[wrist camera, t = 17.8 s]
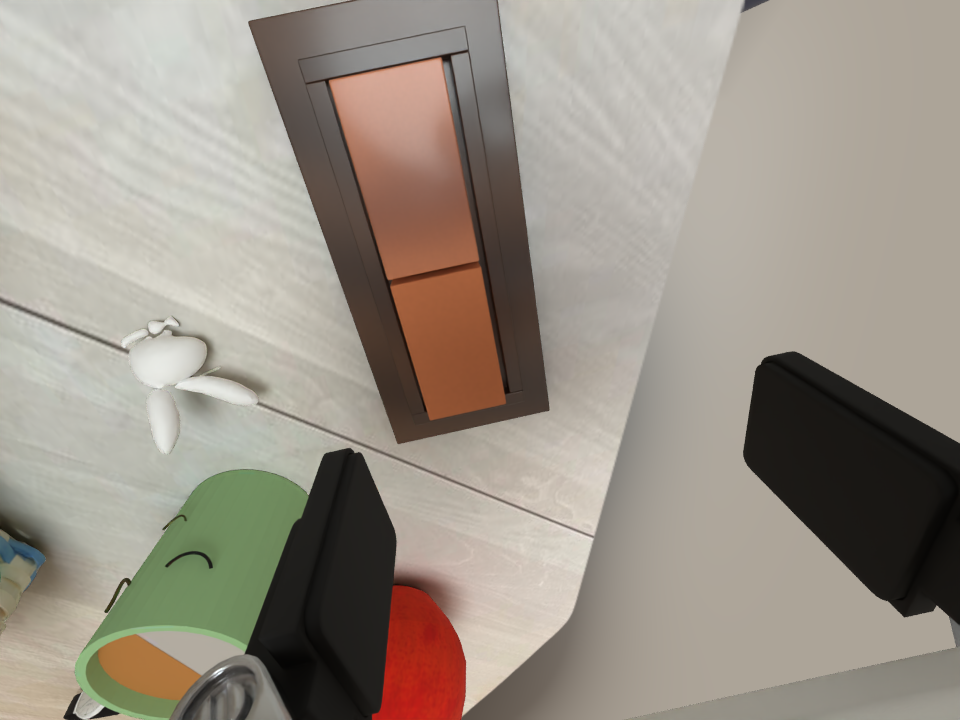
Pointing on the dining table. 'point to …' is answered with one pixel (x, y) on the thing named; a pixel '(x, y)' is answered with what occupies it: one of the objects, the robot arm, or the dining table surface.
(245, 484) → the mug
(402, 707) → the apple
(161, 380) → the rabbit figurine
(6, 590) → the basket
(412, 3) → the board
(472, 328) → the block
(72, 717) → the watch
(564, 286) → the dining table surface
